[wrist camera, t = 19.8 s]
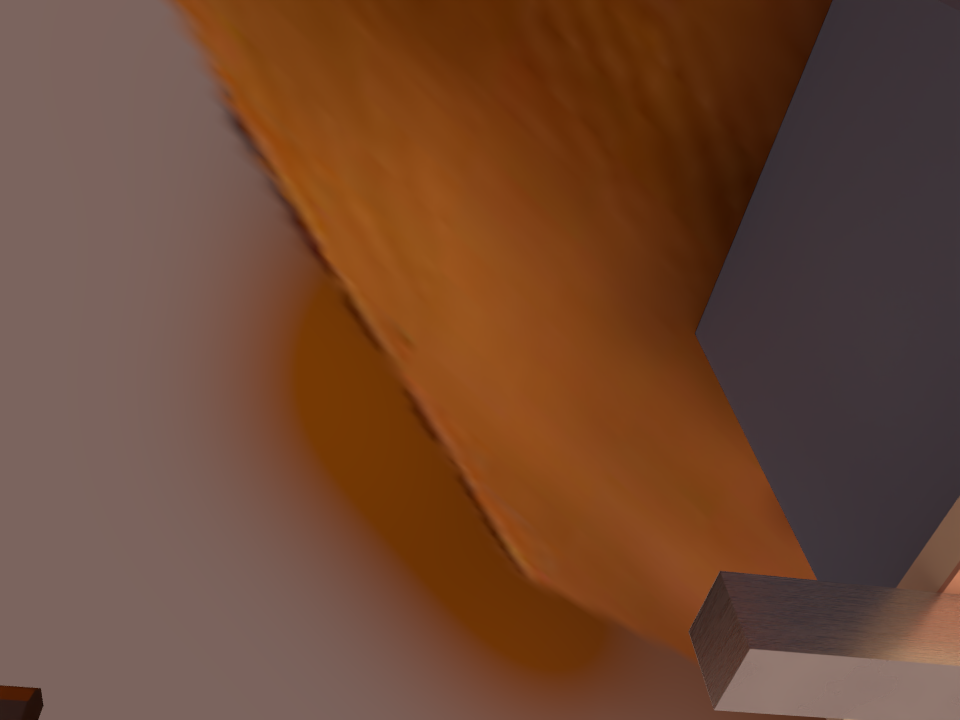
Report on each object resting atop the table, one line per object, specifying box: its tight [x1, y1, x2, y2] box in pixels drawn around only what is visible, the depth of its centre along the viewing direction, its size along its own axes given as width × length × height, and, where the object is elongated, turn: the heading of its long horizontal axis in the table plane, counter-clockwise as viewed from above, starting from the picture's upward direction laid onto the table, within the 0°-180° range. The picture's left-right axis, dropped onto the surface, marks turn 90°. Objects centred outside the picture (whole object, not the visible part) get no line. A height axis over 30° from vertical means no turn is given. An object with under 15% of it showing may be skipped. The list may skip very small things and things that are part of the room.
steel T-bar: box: [689, 571, 960, 720], centre depth 30 cm, size 8×16×3 cm, turn 78°
